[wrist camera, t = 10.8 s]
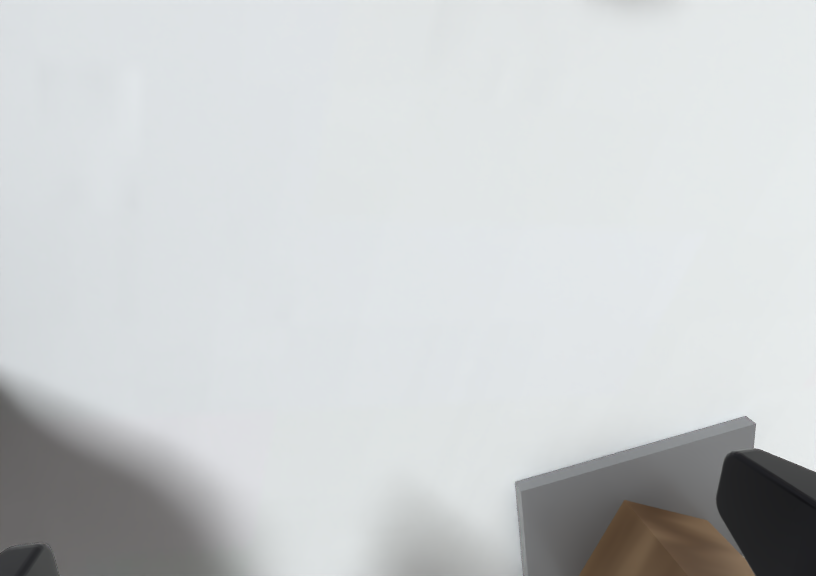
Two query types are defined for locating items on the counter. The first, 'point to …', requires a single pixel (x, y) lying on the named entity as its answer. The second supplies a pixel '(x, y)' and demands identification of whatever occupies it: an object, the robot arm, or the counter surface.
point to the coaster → (622, 494)
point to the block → (663, 546)
